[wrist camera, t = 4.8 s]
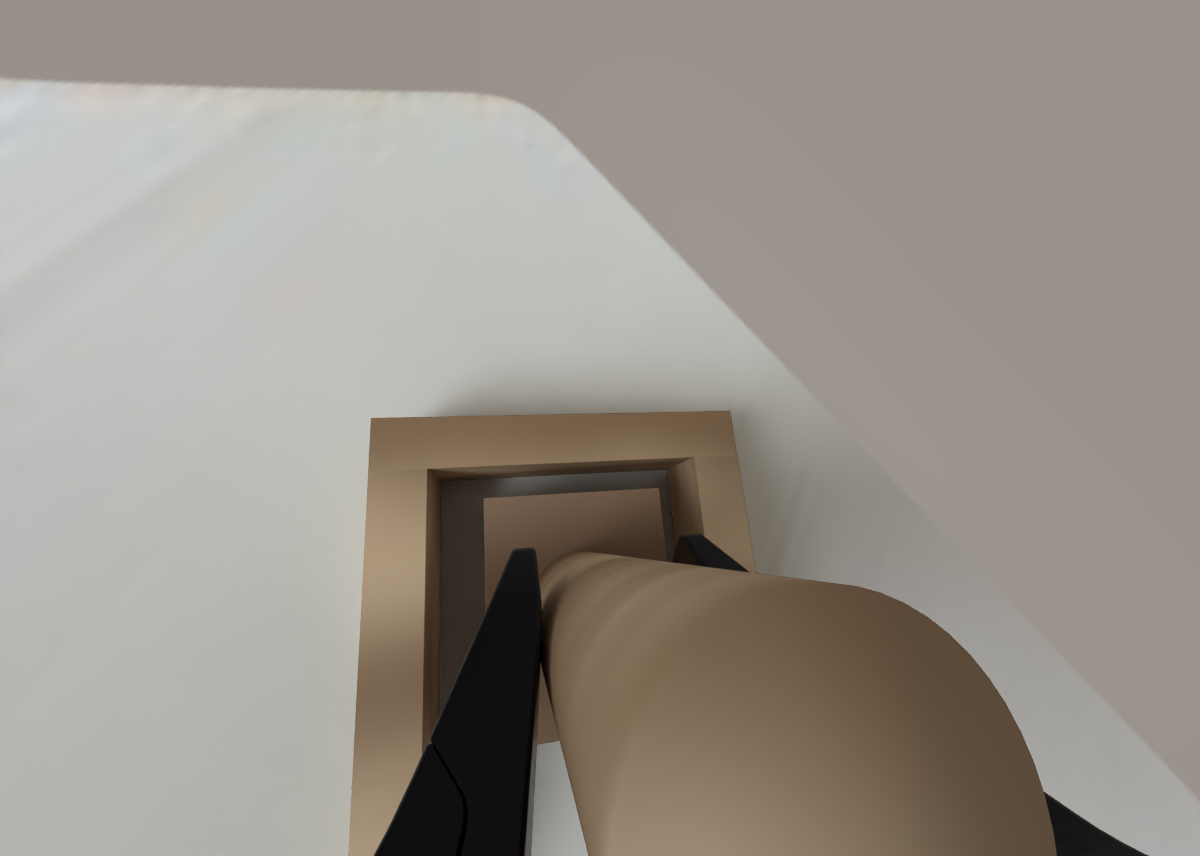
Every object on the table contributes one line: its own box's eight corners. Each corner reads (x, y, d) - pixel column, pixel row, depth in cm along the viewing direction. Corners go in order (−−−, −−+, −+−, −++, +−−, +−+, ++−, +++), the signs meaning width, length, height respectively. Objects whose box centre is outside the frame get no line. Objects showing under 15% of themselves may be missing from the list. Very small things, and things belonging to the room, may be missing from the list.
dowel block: (649, 681, 14) (1398, 1436, 2) (492, 707, 13) (304, 2445, 1) (631, 497, 15) (1027, 355, 4) (488, 506, 14) (390, 346, 3)
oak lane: (756, 846, 13) (808, 911, 11) (374, 945, 11) (338, 1055, 9) (698, 429, 17) (730, 410, 14) (393, 438, 14) (371, 418, 12)
